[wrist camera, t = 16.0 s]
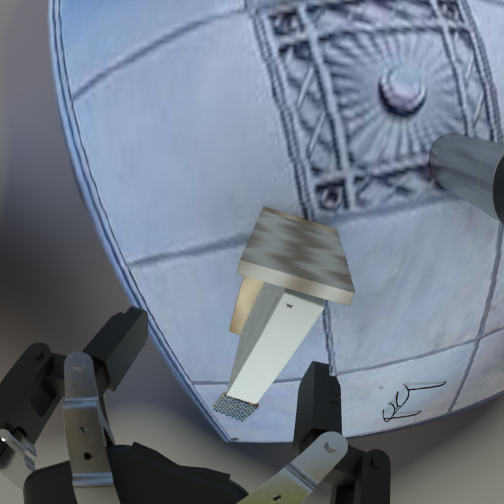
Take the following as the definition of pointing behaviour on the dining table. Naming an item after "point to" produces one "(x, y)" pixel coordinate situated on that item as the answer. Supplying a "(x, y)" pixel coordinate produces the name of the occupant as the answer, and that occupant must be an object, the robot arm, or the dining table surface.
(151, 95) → the dining table surface
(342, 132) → the dining table surface
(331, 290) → the wooden bookend
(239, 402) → the woven mat
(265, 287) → the skincare box
